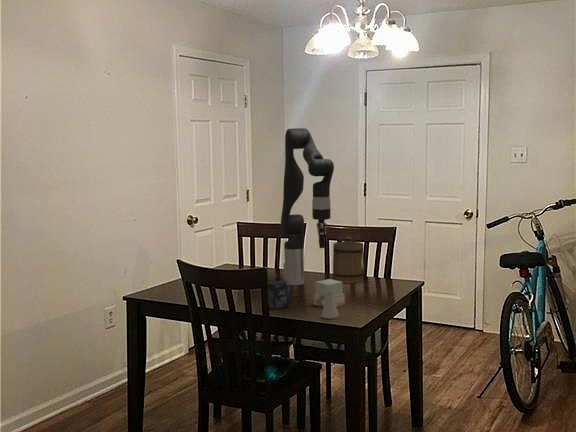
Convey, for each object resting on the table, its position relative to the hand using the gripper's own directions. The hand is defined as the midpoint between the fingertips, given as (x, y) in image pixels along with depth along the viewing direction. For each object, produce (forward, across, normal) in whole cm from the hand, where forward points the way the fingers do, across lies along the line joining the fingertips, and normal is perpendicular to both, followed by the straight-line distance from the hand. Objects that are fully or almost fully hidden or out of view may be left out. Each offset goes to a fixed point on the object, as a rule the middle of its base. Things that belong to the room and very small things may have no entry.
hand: (321, 246), depth 271 cm
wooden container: (+25, -45, +14) cm, 53 cm away
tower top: (+20, +2, +3) cm, 20 cm away
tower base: (+25, +2, +3) cm, 25 cm away
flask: (+25, +20, +2) cm, 32 cm away
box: (+25, +5, -18) cm, 31 cm away
